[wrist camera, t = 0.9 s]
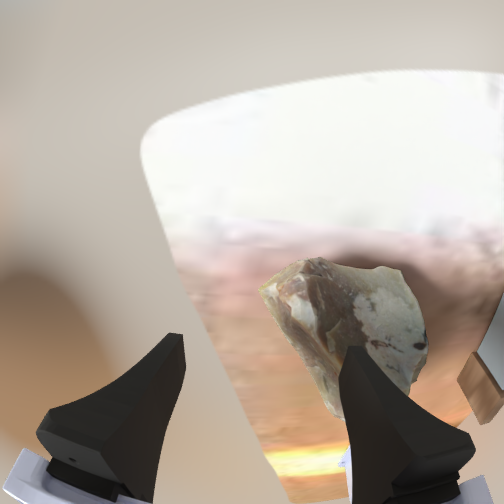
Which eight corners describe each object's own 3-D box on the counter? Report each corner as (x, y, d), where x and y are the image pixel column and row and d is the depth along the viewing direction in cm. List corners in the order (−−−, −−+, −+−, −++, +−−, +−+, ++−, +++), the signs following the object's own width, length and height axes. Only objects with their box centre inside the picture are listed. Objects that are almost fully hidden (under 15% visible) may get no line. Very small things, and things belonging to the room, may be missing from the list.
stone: (478, 401, 8) (231, 441, 10) (418, 427, 18) (299, 447, 21) (411, 200, 15) (238, 239, 17) (398, 314, 25) (294, 334, 28)
